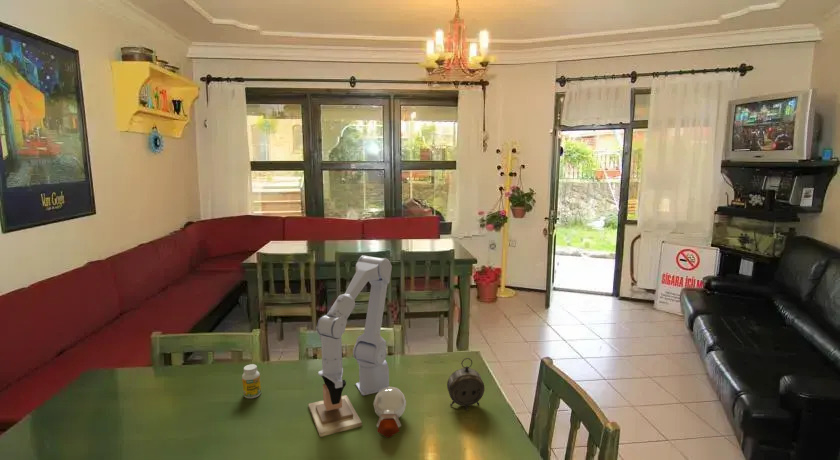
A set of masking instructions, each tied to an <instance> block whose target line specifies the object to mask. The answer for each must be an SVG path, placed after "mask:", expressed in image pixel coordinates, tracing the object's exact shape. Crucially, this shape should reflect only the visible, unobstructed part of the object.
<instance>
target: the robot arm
mask: <svg viewBox="0 0 840 460" xmlns="http://www.w3.org/2000/svg"><path fill="white" fill-rule="evenodd" d="M392 268H393V266H392V264H391V261H390V260H389V259H388V258H386V257H375V256H370V255H369V256H368V255H366V254H364V255H363V254H362V255H361V256H360V257H359V258H358V259H357V262H356V263H355V273H354V275H353V277H352V279H351V280H350V283H349V284H348V287H347V288H346V291H345V293H343V294H342V293H341V294H339V295H338V297H337V298H336V300H335V301H334V303H332V304H333V305H331V307H330V308H329V311H328V312H327V313H326V314H324V315H322V316H320V318H319V319H318V321H317V325H316V327H315V331H316V333H317V334H318V337H319V340H320V343H321V363H322V364H321V365H322V368H321V369H322V370H319V371H318V372H317V373H318V376H319V377H321V378H322V379H323V382H324V384H326V386H327V388H328V390H329V393H330V398H331V402H332V404H333V405H334V404H338V403H340V399H341V394H342V392H343V390H344V389H345V387H346V385H347V380H345V379H343V376H344V368H343V348H342V344H343V341H342V337H343V335H344V334H345V332H346V326H347V323H348V318H349V317H350V315H351V313H352V312H353V311H354V308H355V307H356V302H355V300H356V298H357V297H358V295H359V294H360V293H361V292H362V290H363V289H364V287H365V286H366V285H367V284H368V282H369V284H370V290H369V291H370V292H369V299H368V305H367V310H366V311H367V312H366V315H365V317H366V319H365V325H364V331H363V333H362V334H360V335H358V336H357V337H356V341H355V343H354V346H353V349H352V355H353V358H354V359H355V360H356V364H358V375H359V376H358V377H359V378H358V379H359V382H356V383H355V386H356V388H357V389H358V391H359V392H360V395H361V396H367V395H368V396H369V395H371V394H377V393H378V392H379V391H380V390H381V389H382V388H385V387H389V386H390V369H389V365H388V362H387V360H386V358H387V341H386V339H384V338H383V336H382V335H381V328H382V323H383V317H384V316H383V315H384V309H385V302H386V296H387V289H388V285H389V284H390V282H391V275H392V271H393V270H392ZM342 395H343V394H342Z"/></svg>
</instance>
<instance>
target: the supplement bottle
mask: <svg viewBox="0 0 840 460" xmlns="http://www.w3.org/2000/svg"><path fill="white" fill-rule="evenodd" d="M241 380H242V393H243V397H245V398H246V399H254V398H255V399H256V398H257V397H259V396H260V395H261V393H262V386H261V385H262V384H261V375H260V372H259V371H258V366H257V365H256V364H254V363H251V364H247V365H245V366H244V367H243V374H242V376H241Z"/></svg>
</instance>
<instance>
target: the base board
mask: <svg viewBox="0 0 840 460" xmlns="http://www.w3.org/2000/svg"><path fill="white" fill-rule="evenodd" d="M308 410H309V413H310V415H311V417H312V420H313V422H314V425H315V427H316V430H317V432H318V435H319V437H322V438H323V437H325V436H329V435H333V434H336V433H337V434H338V433H341V432H344V431H348V430H353V429H355V428H359V427H360V428H361V427H363V424H362V423H363V422H362V421H361V418H360V417H359V415H358V413H357V411H356V410H355V408H354V406H353V404H352V402H351V400H350V399H349V397H348V395H346V394H345V395H342V408H337V409H333V410H329V411H327V410H326V408H325V405H324V401H323V400H319V401H314V402H310V403H308Z"/></svg>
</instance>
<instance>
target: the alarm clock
mask: <svg viewBox="0 0 840 460" xmlns="http://www.w3.org/2000/svg"><path fill="white" fill-rule="evenodd" d="M466 360H469V361H471V362H470V365H469V366H467V365H466V366H464V365H463V364H464V363H463V362H464V361H466ZM460 364H461V366H462V368H459V369H457V370H455V371H454V372H453V373H451V374H450V375H449V377H448V380H447V383H446V384H447V385H446V387H447V391H448V394H449V397H450V398H451V400H452V402H451V403H450V405H449V406H450V407H452V406H453V405H454V404H457V406H463V407H465V411H466V412H468V411H469V406H473V405H475V404H477V405H478V406H479V404H480V402H479V401H480V400H481V399H482V398H483V396H484V393H485V383H484V381H483V379H482V376H481V374H480V373H479V372H478V371H477V370H475V369H473V368H471V367H472V365H473V360H472V359H471V358H469V357H466V358H463V359H462V361H461V363H460Z"/></svg>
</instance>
